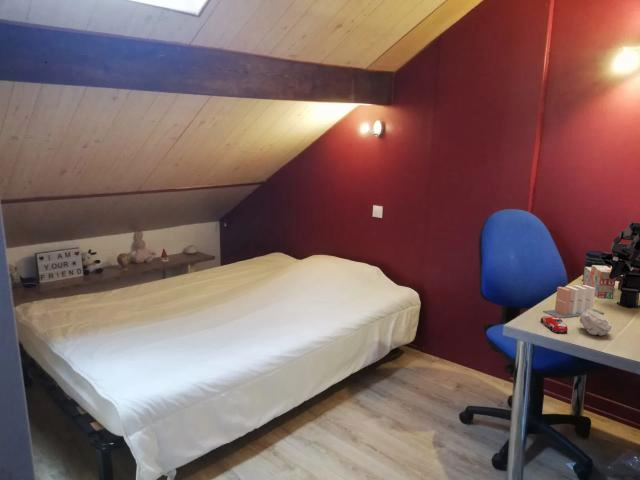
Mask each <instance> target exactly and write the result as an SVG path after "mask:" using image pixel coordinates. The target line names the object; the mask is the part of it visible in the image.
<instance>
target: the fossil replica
mask: <svg viewBox="0 0 640 480" xmlns="http://www.w3.org/2000/svg"><path fill="white" fill-rule="evenodd" d="M579 323H580V324H582V327H584V329H585V330H586V331H587V333H589V334H590V335H594V336H596V335H598V336H604V335H607V334H608V333H609V332H611V329H612V324H611V322H609V321H608V320H607V319H606V318H605V316H604V314H599V313H597V312H594V311H592V310H589V309H587V310H586V311H584V312H583V313H582V315H581V316H579Z"/></svg>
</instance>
